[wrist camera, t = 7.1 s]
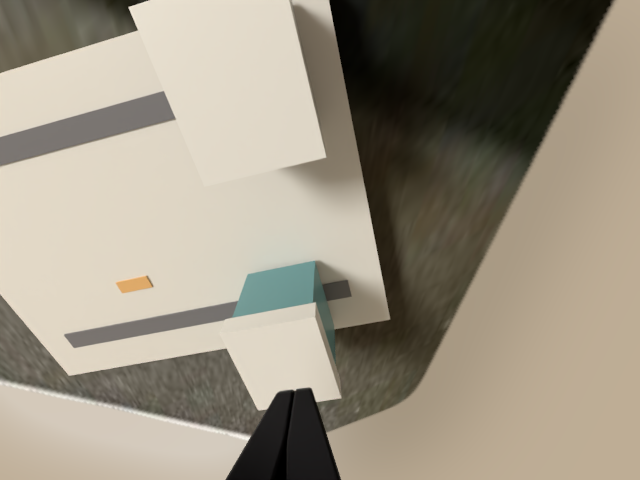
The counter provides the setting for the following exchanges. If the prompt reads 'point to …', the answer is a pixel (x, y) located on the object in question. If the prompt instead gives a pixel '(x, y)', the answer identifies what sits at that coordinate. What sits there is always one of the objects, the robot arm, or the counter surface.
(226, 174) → the grey and white slider
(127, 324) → the slotted slider plate
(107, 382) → the counter surface
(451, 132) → the counter surface
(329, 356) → the teal knob
